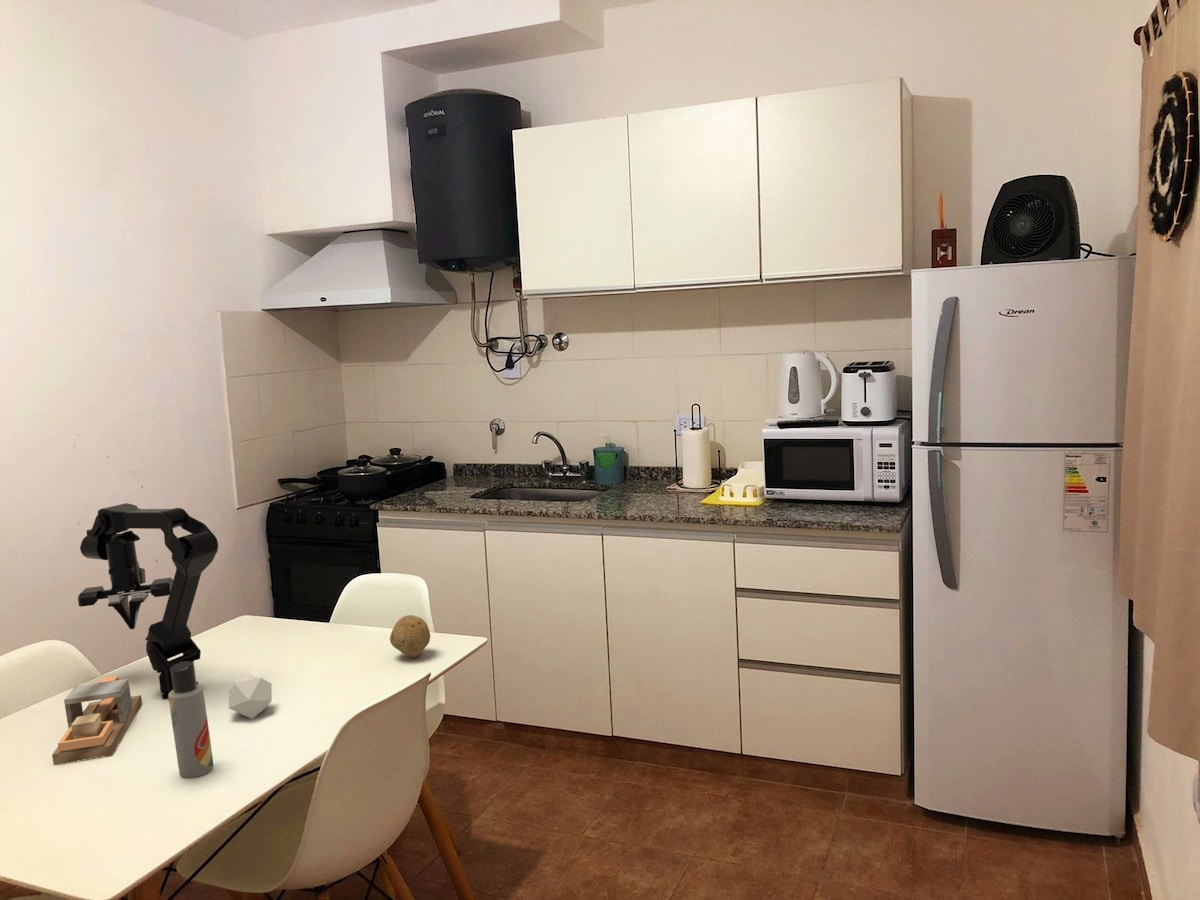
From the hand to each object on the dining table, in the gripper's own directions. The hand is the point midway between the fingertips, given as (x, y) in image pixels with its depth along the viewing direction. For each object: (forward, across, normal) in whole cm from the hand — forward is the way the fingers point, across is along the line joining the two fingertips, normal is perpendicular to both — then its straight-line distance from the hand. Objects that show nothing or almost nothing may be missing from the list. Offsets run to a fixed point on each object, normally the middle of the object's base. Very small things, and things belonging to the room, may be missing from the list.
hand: (132, 628), depth 211 cm
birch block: (+11, +2, +33) cm, 35 cm away
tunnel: (+13, +2, +25) cm, 29 cm away
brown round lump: (+13, -60, +9) cm, 62 cm away
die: (+13, -27, +28) cm, 41 cm away
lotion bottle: (+13, -20, +51) cm, 56 cm away
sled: (+11, +2, +26) cm, 28 cm away
